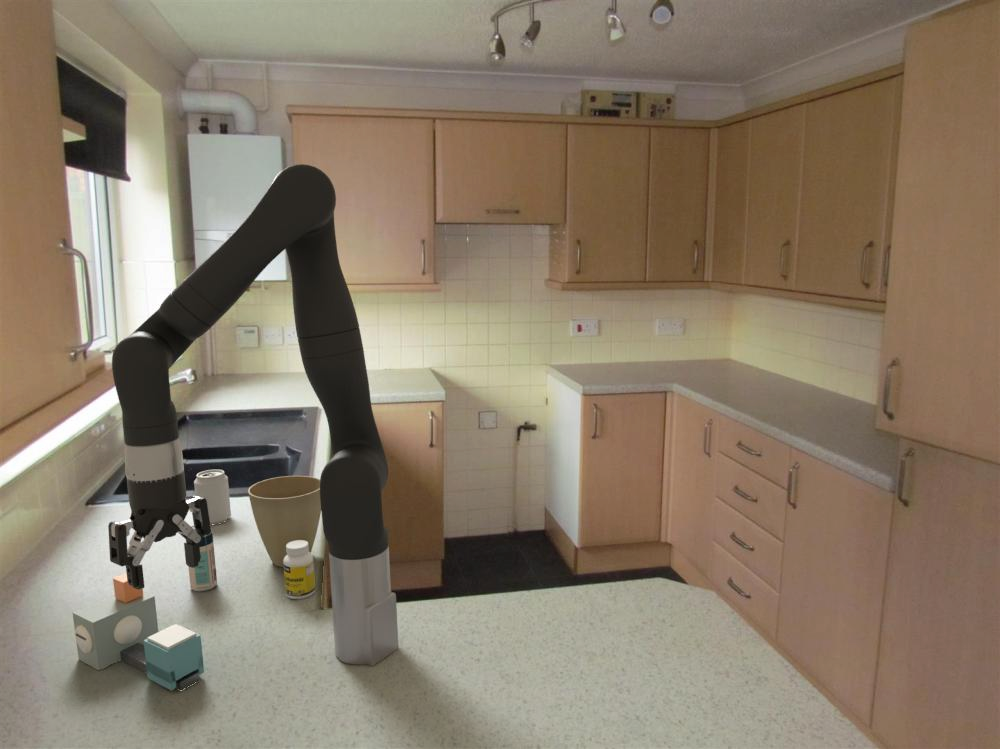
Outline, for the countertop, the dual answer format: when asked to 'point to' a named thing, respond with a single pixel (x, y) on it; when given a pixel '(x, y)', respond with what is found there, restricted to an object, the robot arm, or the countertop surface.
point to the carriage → (173, 655)
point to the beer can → (204, 566)
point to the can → (214, 494)
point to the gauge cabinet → (113, 628)
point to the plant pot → (286, 512)
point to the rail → (137, 659)
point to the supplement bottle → (299, 570)
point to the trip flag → (125, 589)
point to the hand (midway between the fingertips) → (166, 576)
